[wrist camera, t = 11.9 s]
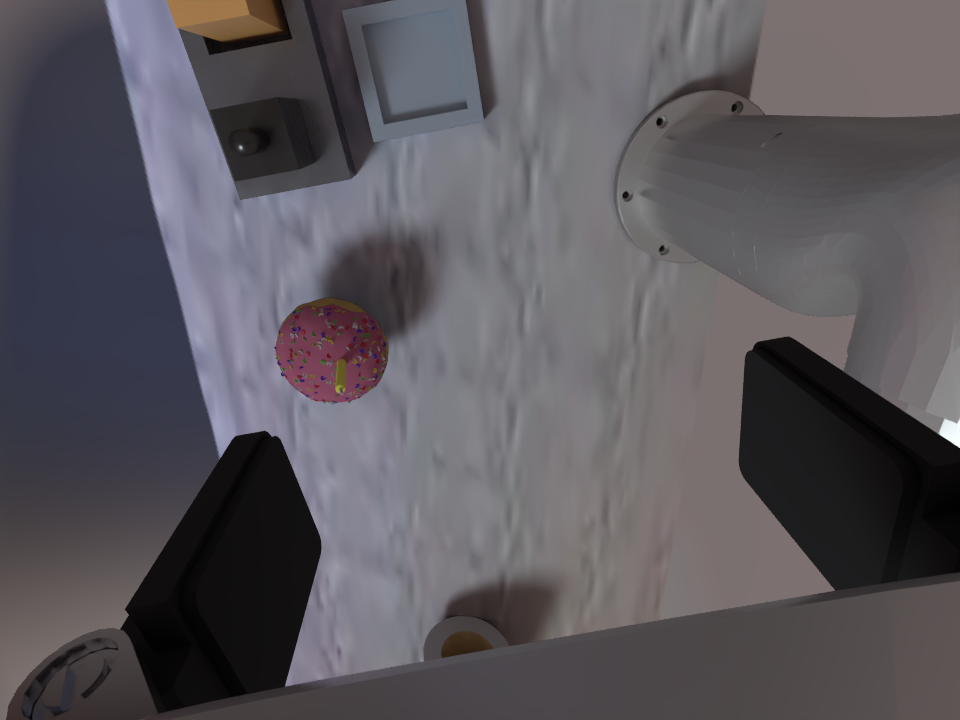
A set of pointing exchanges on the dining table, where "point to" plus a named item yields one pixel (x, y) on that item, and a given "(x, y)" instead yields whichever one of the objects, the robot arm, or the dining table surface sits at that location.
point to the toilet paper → (461, 638)
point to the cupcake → (331, 350)
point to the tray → (414, 66)
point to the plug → (230, 19)
